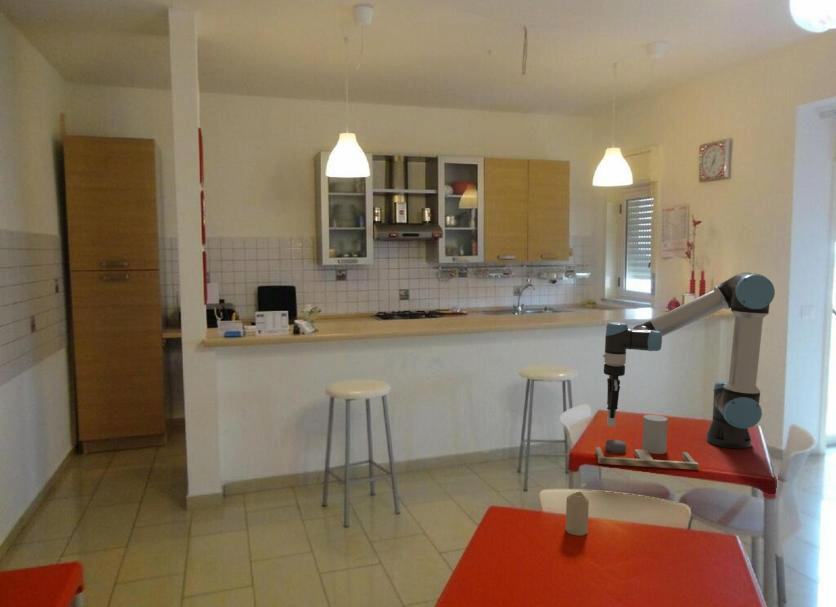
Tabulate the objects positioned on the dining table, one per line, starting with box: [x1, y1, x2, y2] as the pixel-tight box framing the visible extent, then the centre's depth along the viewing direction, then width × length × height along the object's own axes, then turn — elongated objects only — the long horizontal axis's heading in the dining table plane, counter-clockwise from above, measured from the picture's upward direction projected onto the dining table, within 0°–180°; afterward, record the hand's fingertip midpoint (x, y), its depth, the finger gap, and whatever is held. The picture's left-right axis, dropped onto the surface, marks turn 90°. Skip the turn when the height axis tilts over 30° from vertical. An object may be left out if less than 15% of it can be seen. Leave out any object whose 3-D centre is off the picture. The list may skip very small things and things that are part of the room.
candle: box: [565, 491, 590, 537], centre depth 155 cm, size 6×6×10 cm
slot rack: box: [595, 446, 699, 471], centre depth 207 cm, size 32×12×2 cm, turn 81°
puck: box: [605, 439, 627, 454], centre depth 218 cm, size 7×7×3 cm
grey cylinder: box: [641, 414, 669, 455], centre depth 218 cm, size 8×8×12 cm
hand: (611, 425), depth 226 cm, fingers closed
